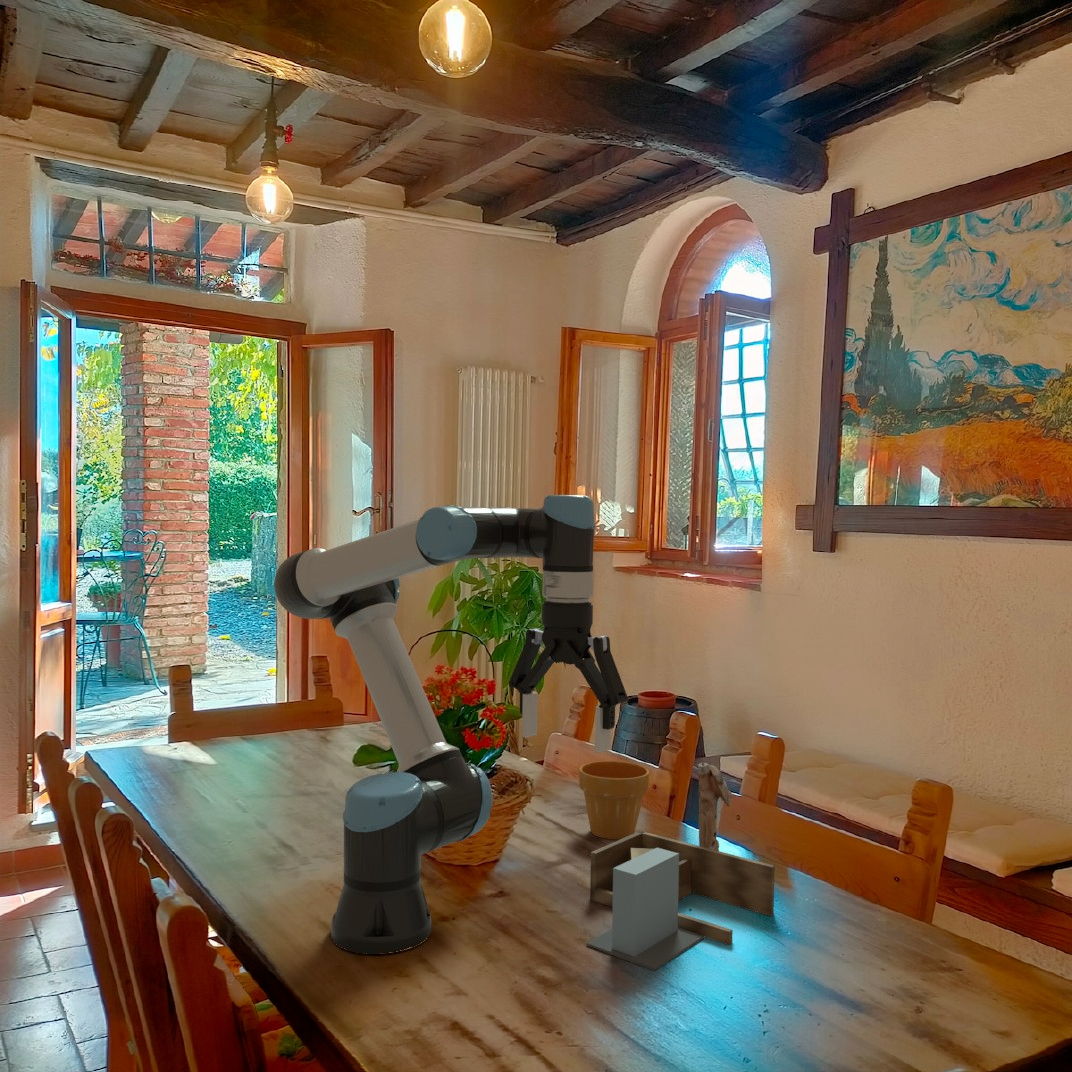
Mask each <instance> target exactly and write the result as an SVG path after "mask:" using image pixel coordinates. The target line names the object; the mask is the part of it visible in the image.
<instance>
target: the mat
mask: <svg viewBox="0 0 1072 1072" xmlns="http://www.w3.org/2000/svg"><path fill="white" fill-rule="evenodd" d="M704 939H705V937H704V936H703V935H700V934H697V933H694V932H691V931H688V930H685V929H682V928H679V927H678V931H676V932H674V933H673V934H671V935H669V936H668V937H666V938H664V939H663V940H661V941H660V942H658V943H656V944H655V945H653V946H651V947H650V948H648V949H646V950H645V951H643V952H642V953H640V954H638V955H637V956H635V957H633V956H631V955H628V954H625V953H622V952H620V951H617V950H614V949H612V928H611V929H609V930H608V931H606V932H604V933H602V934H600V935H599V936H596V937H595V938H593V939H591V940H589V941H587V942H586V947H588V948H591V947H594V948H596V949H595V950H597V949H598V950H597V951H600V952H602V951H603V952H602V953H605V954H608V955H611V956H613V955H614V957H616V958H619V959H621V960H624V961H627V962H630V963H632V964H636V965H639V966H641V967H644V968H646V969H649V970H652V971H656V970H658V969H659V968H661V967H663V966H664V965H666V964H667V963H668V962H670V961H672V960H673V959H675V958H677V957H678V956H679V955H681V954H682V953H684V952H685V951H687V950H689V949H691V948H692V947H693V946H695V945H696V944H698V943H699V942H700V941H702V940H704ZM594 948H593V949H594Z"/></svg>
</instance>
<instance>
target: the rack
mask: <svg viewBox="0 0 1072 1072" xmlns="http://www.w3.org/2000/svg"><path fill="white" fill-rule="evenodd" d="M631 848H647V849H655V848H660V849H664V850H668V851H672V852H675V853H679V886H678V902H679V901H680V900H682V899H684V898H686V897H687V896H689V895H691V894H695V895H698V896H701V897H705V898H708V899H711V900H715V901H719V902H721V903H725V904H728V905H732V906H735V907H738V908H741V909H745V910H748V911H752V912H753V913H754V912H755V913H758V914H762V915H764V916H768V917H772V916H773V915H774V913H775V908H774V907H775V868H776V867H775V865H773V864H770V863H765V862H763V861H762V862H761V861H758V860H754V859H750V858H747V857H746V858H745V857H742V856H739V855H735V854H731V853H728V852H724V851H720V850H719V851H716V850H712V849H709V848H705V847H701V846H699V845H696V844H693V843H688V842H685V841H681V840H677V839H673V838H669V837H666V836H662V835H659V834H654V833H650V832H646V831H643V830H639V831H637V832H636V831H635V832H634V834H632V835H629V836H627V837H625V838H623V839H617V840H616V841H613V842H610V843H609V844H606V845H605V846H602V847H600V848H597V849H595V850H593V851H591V852H590V879H589V882H590V883H589V886H590V887H589V888H590V889H589V897H590V898H589V899H590V901H593V902H597V903H600V904H603V905H606V906H609V907H611V908H613V868H615V867H617V866H619V865H621V864H623V863H625V862H627V861H630V859H631ZM678 927H679V928H682V929H685V930H688V931H691V932H694V933H697V934H700V935H703V936H704V938H706V939H710V940H714V941H715V942H718V943H722V944H725V945H728V946H730V945H732V944H733V931H734V930H733V929H732V928H729V927H724V926H722V925H719V924H715V923H712V922H709V921H706V920H704V919H700V918H697V917H694V916H690V915H687V914H683V913H681V912H678Z"/></svg>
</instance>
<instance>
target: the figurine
mask: <svg viewBox="0 0 1072 1072" xmlns="http://www.w3.org/2000/svg"><path fill="white" fill-rule="evenodd" d="M697 776H698V777H697V779H698V792H697V793H698V806H699V807H698V846H701V847H705V848H709V849H712V850H716V851H720V843H719V840H718V839H717V833H718V832H717V829H718V828H717V821H718V820H717V817H718V816H717V814H718V802H719V799H721V800H722V801H723V803H724V804H725V806H727V807H731V804H732V799H733V797H734V796H733V794H732V792H731V790H729V789H728V784H727V783H726V781H725V780H724V778H723V776H722V773H721V771H720V770H719V769H718V767H717V766H714V765H712V764H709V763H707V762H701V763H698V765H697Z"/></svg>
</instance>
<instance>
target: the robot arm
mask: <svg viewBox="0 0 1072 1072" xmlns="http://www.w3.org/2000/svg"><path fill="white" fill-rule="evenodd" d="M594 504H595V503H594V501H593V499H592V498H591V497H590V496H588V495H574V494H552V495H551V494H549V495H546V496H545V497H544V499H543V505H542V507H541V508H527V507H526V508H525V507H507V506H506V507H502V506H499V507H498V506H497V507H487V506H486V507H483V506H482V507H479V506H477V507H476V506H475V507H474V506H458V505H453V504H448V505H444V506H435V507H431V508H429V509H427V510H426V511H424V513H423V514H422V516H421V517H420V518H418V519H415V520H414V521H413V520H412V521H411V522H408V523H407V522H406V523H405V524H401V525H398V526H396V527H393V528H392V527H391V528H389V529H387V530H384V531H381V532H378V533H374V534H371V535H369V536H366V537H362V538H360V539H359V538H358V539H357V540H353V541H351V542H348V543H344V544H342V545H339V546H336V547H333V548H330V549H327V550H326V549H324V548H319V547H315V548H310V549H307V550H304V551H301V552H297V553H294V554H292V555H290V556H289V557H287V558H285V559H284V561H282V563H281V564H280V565H279V566H278V568H277V570H276V573H275V576H274V580H273V581H274V582H273V583H274V584H273V588H274V593H275V596H276V599H277V600H278V602H279V603H280V605H281V607H282V608H283V609H285V611H287V613H289V614H291V615H293V616H295V617H298V618H301V619H306V620H316V619H317V620H320V619H329V620H330V623H331V626H332V628H333V630H334V632H335V634H336V636H337V637H340V638H343V639H346V640H347V641H348V643H349V647H350V648H351V651H352V654H353V656H354V658H355V660H356V663H357V665H358V667H359V670H360V673H361V676H362V678H363V680H364V684H365V686H366V687H367V690H368V692H369V695H370V697H371V700H372V702H373V705H374V707H375V709H376V712H377V715H378V716H379V717H378V718H379V719H380V721H381V724H382V726H383V729H384V732H385V733H386V735H387V738H388V741H389V743H390V747H391V748H392V750H393V753H394V756H395V757H396V762H397V763H398V768H397V769H396V770H397V771H390V772H387V773H377V774H373V775H372V774H371V775H369V776H367V777H364V778H362V779H360V780H358V781H356V782H354V784H352V786H350V788H349V789H348V791H346V793H345V794H346V795H345V801H344V810H343V813H342V819H343V883H342V884H343V885H342V888H341V893H340V896H339V899H338V902H337V907H336V910H335V912H334V914H333V917H332V919H331V924H330V925H331V927H330V929H331V930H330V931H331V932H330V933H331V934H330V938H331V940H332V939H333V941H334V942H335V943H336V944H337V945H338V946H340V947H342V948H345V949H347V950H349V951H348V952H350V951H353V952H358V953H357V954H359V953H365V954H364V955H367V954H380V953H389V952H396V951H400V950H404V949H407V948H409V947H414V946H416V945H418V944H420V943H421V942H423V941H424V940H426V938H428V937H429V935H430V933H431V934H432V914H431V911H430V909H429V907H428V906H429V905H428V903H427V898H426V895H425V892H424V889H423V887H422V883H421V882H422V881H421V872H422V871H421V869H422V868H421V864H422V859H421V858H422V857H421V856H423V855H424V854H427V853H430V852H432V851H435V850H437V849H440V848H443V847H445V846H448V845H451V844H453V843H460V842H463V841H464V840H466V839H467V838H469V837H471V836H473V835H475V834H477V833H478V832H480V831H481V830H482V829H483V828H484V827H485V825H486V824H487V822H488V821H489V818H490V815H491V814H490V813H491V810H492V808H493V793H492V786H491V783H490V780H489V778H488V776H487V775H486V773H485V772H484V771H483V770H482V768H480V767H477V766H476V764H473V763H471V762H470V763H468V762H466V761H465V759H464V757H463V754H462V753H461V750H460V748H459V747H457V746H454V745H451V744H449V743H448V742H447V741H446V737H444V734H443V731H442V729H441V727H440V725H439V722H438V720H437V717H436V715H435V713H434V711H433V708H432V706H431V703H430V701H429V699H428V696H427V695H426V692H425V690H424V688H423V685H422V683H421V680H420V677H419V676H418V674H417V671H416V668H415V667H414V665H413V662H412V659H411V657H410V655H409V653H408V650H407V648H406V645H405V644H404V641H403V639H402V636H401V634H400V631H399V629H398V627H397V625H396V622H395V617H396V615H397V612H398V611H399V608H398V605H397V603H398V601H399V597H400V593H401V591H399V587H401V581H400V578H403V577H406V576H409V575H414V574H417V573H419V572H424V571H426V570H430V569H433V568H436V567H439V566H443V565H444V566H445V565H448V564H452V563H455V562H459V561H462V560H469V559H470V560H473V559H490V558H492V559H497V558H498V559H499V558H500V559H502V558H531V559H532V558H533V559H534V558H537V559H542V587H541V588H542V590H541V591H542V594H541V595H542V596H543V598H545V600H543V602H542V603H541V624H542V625H543V626H544V629H543V630H542V629H541V628H540V627H539V628H529V629H527V630H526V632H525V640H524V645H523V648H522V649H521V653H520V655H519V657H518V659H517V662H516V664H515V667H514V669H513V672H512V674H511V676H510V679H509V681H508V686H509V687H510V688H514V689H516V690H517V692H518V693H519V706H518V707H519V708H518V710H519V713H520V714H521V717H522V721H521V722H522V724H521V728H522V731H521V734H522V735H521V737H522V738H525V739H526V738H527V739H528V738H531V737H535V736H538V719H539V718H538V717H539V716H538V714H539V713H538V711H539V710H538V709H539V707H538V706H539V705H538V704H539V701H538V700H539V692H536V690H537V689H536V687H537V686H538V685H539V683H540V681H542V679H543V678H544V676H545V675H546V674H547V672H548V671H549V669H550V668H551V667H552V666H553V665H554V663H558V664H559V663H563V664H566V665H574V667H575V668H577V669H578V670H579V671H580V672H581V674H582V676H583V677H584V679H585V681H586V682H587V684H588V686H589V688H590V689H591V690H592V692H593V694H594V696H595V697H596V699H597V700H598V701H597V702H599V705H598V706H595V730H594V731H595V732H594V733H595V734H594V738H595V739H594V740H595V741H594V753H598V754H600V753H604V752H609V751H610V750H611V730H612V729H614V728H615V726H616V706H617V705H619V704H623V703H626V702H628V698H629V697H628V695H627V692H626V691H627V690H625V686H624V683H623V681H622V678H621V676H620V673H619V671H618V668H617V665H616V663H615V660H614V656H613V654H612V652H611V641H610V640H611V639H610V637H609V636H608V635H601V636H594V637H593V636H592V633H591V628H592V626H593V623H594V619H593V618H594V604H593V603H592V601H590V599H592V598H594V573H595V571H594V548H595V547H594V543H595V529H596V523H595V505H594ZM542 643H543V645H544V649H543V650H542V652H540V654H539V655H538V653H539V651H540V648H541V645H542ZM590 649H591V651H593V653H594V654H593V655H594V657H593V655H592V653H591V651H590ZM537 656H538V660H537V661H536V662H535V660H536V657H537ZM595 662H596V663H595ZM596 664H597V665H596ZM430 936H431V935H430ZM429 938H430V937H429ZM429 938H428V939H429ZM333 941H332V942H333ZM426 941H427V940H426ZM334 942H333V943H334ZM335 943H334V944H335ZM336 944H335V945H336ZM337 945H336V946H337ZM338 946H337V947H338ZM340 947H339V948H340ZM342 948H341V949H342ZM347 950H346V951H347ZM353 952H352V953H353ZM366 953H367V954H366Z"/></svg>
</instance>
